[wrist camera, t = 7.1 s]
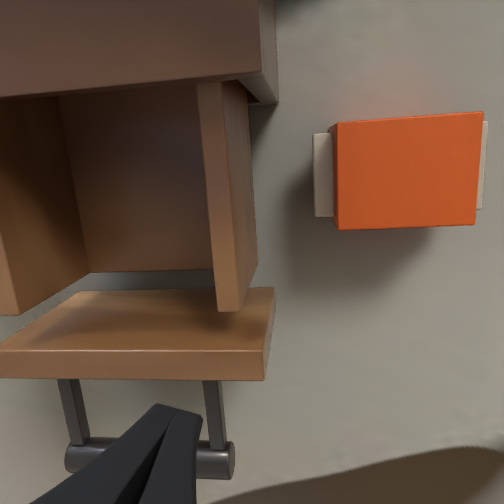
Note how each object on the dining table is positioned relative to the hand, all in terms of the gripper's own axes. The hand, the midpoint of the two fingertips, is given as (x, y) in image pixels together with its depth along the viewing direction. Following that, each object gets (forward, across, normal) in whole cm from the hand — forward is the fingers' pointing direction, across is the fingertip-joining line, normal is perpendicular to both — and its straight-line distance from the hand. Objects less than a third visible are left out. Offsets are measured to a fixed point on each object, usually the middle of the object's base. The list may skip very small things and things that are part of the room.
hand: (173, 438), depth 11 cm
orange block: (+10, -6, -8) cm, 14 cm away
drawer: (+10, +4, -2) cm, 11 cm away
